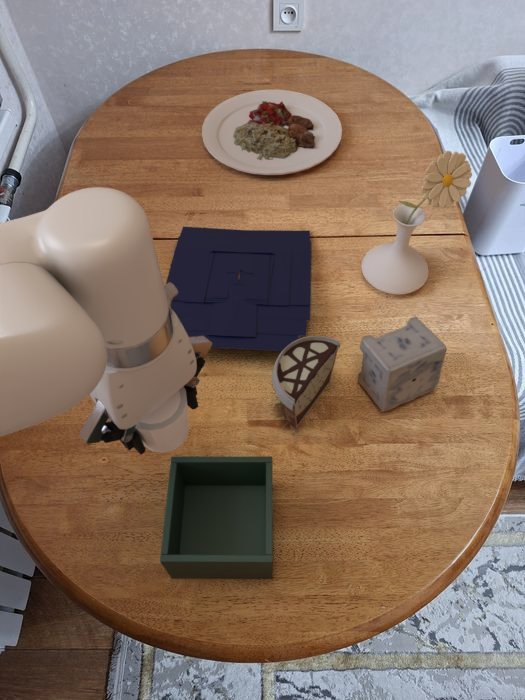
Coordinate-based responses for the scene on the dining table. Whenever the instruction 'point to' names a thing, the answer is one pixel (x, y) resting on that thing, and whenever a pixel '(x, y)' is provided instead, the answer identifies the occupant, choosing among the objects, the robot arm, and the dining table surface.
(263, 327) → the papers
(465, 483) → the dining table surface
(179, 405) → the light grey rounded piece
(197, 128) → the dining table surface
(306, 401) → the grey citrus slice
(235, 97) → the plated food
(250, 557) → the open square box
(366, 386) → the incense holder
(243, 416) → the dining table surface
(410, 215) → the flower in vase
